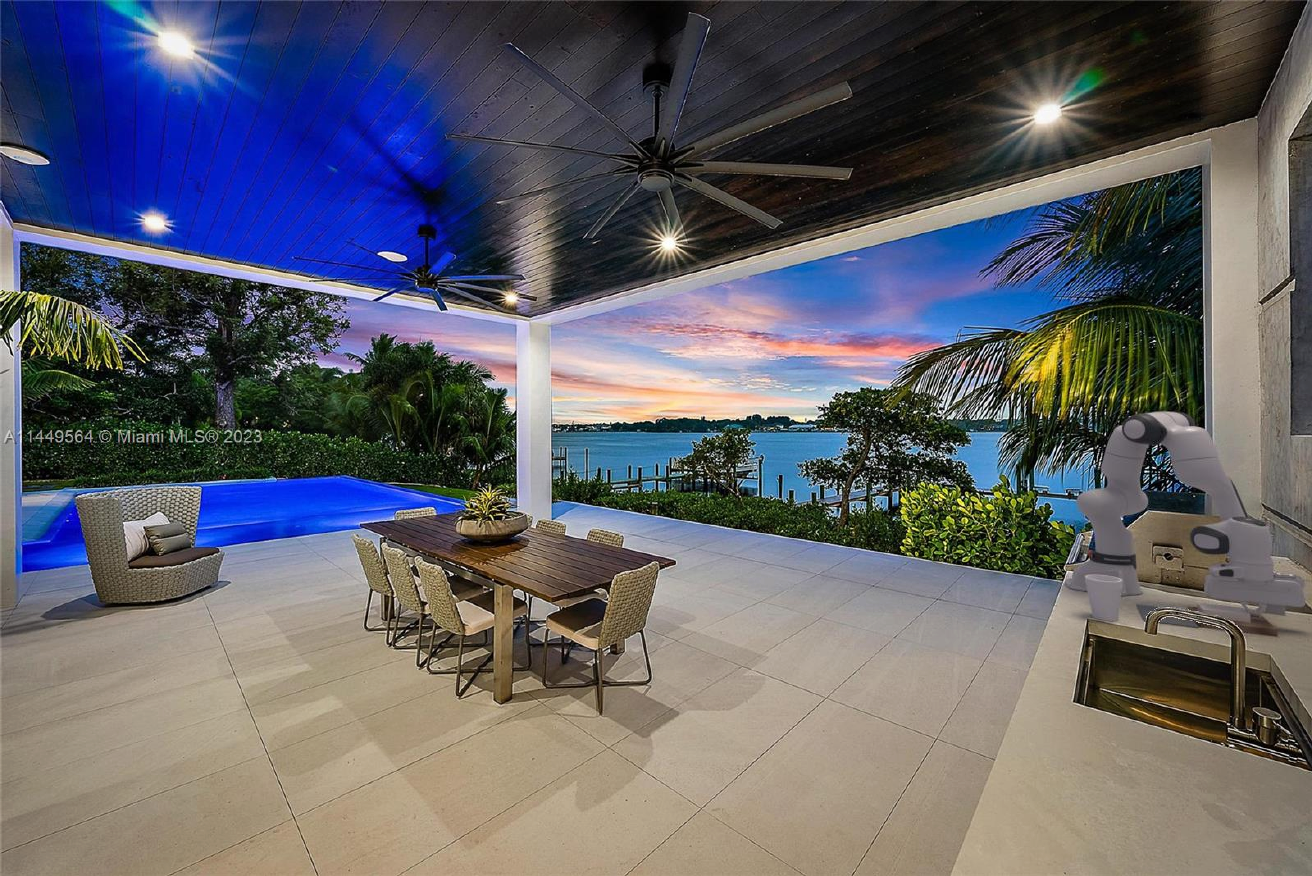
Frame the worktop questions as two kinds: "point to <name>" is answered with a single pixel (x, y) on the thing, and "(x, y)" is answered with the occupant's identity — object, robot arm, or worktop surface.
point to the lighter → (1275, 609)
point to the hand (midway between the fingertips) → (1253, 616)
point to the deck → (1248, 625)
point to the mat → (1168, 620)
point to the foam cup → (1104, 596)
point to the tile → (1225, 612)
